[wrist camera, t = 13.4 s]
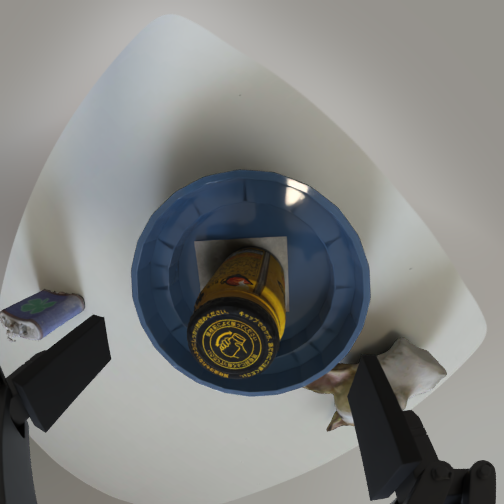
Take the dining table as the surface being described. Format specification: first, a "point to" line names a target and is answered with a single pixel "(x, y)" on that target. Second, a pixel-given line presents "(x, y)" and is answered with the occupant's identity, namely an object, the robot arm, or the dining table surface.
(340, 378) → the ceramic sculpture
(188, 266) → the basin
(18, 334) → the flask
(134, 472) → the dining table surface
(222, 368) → the condiment
